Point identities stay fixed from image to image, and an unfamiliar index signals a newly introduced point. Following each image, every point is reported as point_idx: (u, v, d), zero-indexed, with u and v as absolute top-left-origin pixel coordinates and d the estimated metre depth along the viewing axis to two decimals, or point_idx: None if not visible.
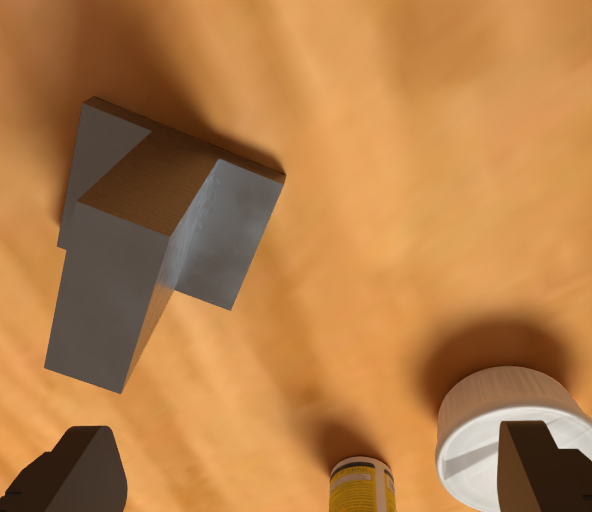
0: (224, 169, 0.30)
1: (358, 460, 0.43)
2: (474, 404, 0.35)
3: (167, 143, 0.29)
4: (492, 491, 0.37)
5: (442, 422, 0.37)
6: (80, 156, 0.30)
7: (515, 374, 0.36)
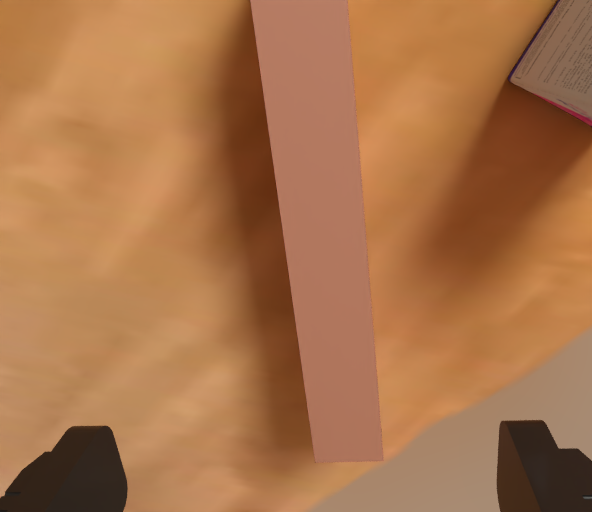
0: None
1: None
2: None
3: None
4: None
5: None
6: None
7: None
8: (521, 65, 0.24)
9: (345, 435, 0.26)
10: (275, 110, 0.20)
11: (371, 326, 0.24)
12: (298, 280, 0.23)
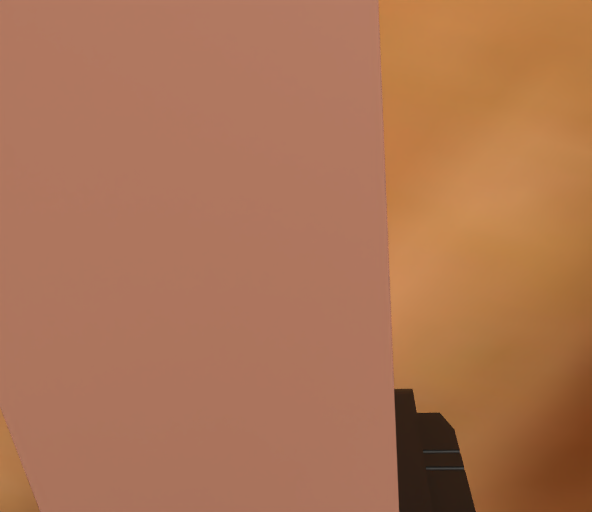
0: None
1: None
2: None
3: None
4: None
5: None
6: None
7: None
8: None
9: None
10: (15, 339, 0.04)
11: None
12: None
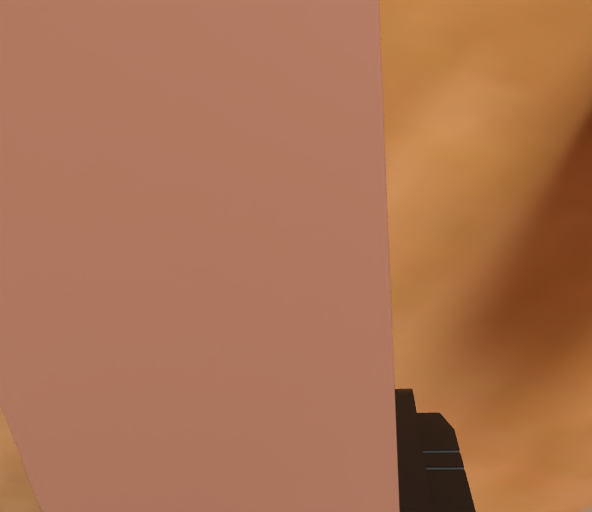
0: None
1: None
2: None
3: None
4: None
5: None
6: None
7: None
8: None
9: None
10: (17, 340, 0.04)
11: None
12: None
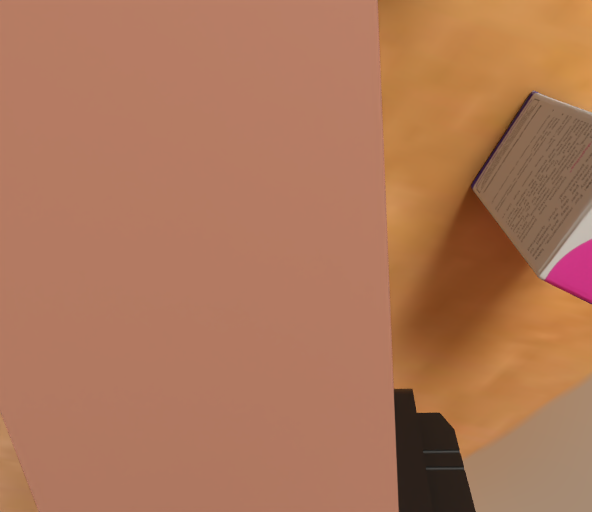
0: None
1: None
2: None
3: None
4: None
5: None
6: None
7: None
8: (481, 178, 0.27)
9: None
10: (15, 343, 0.04)
11: None
12: None
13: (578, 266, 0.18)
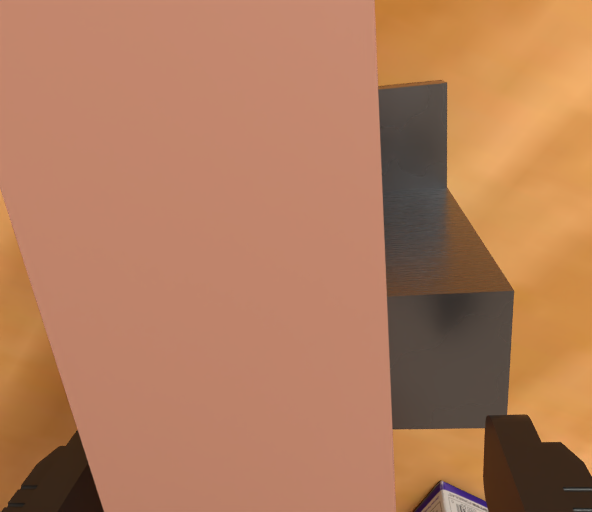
0: None
1: None
2: None
3: None
4: None
5: None
6: None
7: None
8: None
9: None
10: (70, 295, 0.05)
11: None
12: None
13: None
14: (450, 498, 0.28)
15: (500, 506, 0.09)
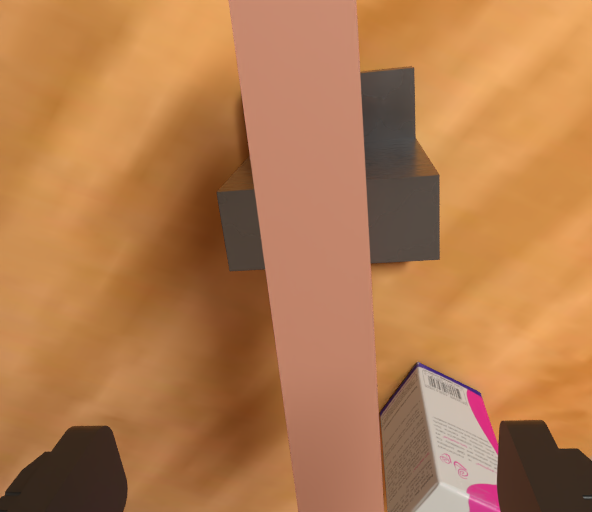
0: None
1: None
2: None
3: None
4: None
5: None
6: None
7: None
8: (384, 414, 0.40)
9: None
10: (258, 125, 0.16)
11: (375, 394, 0.19)
12: (286, 337, 0.18)
13: None
14: (423, 372, 0.38)
15: None
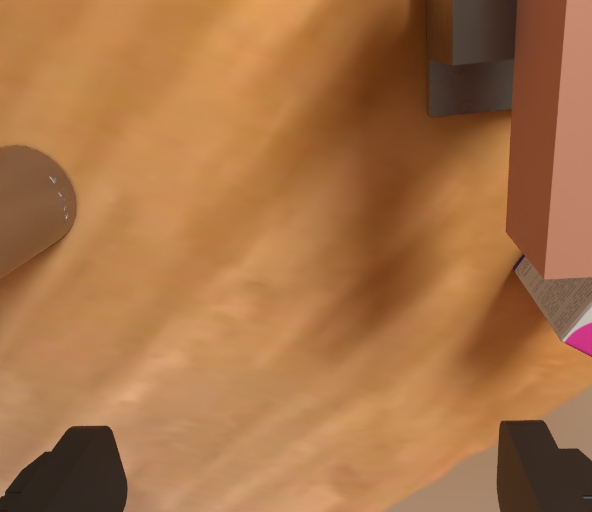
0: None
1: None
2: None
3: (430, 42, 0.36)
4: None
5: None
6: (473, 106, 0.38)
7: None
8: (521, 266, 0.43)
9: (584, 245, 0.25)
10: None
11: None
12: (572, 54, 0.22)
13: (582, 336, 0.34)
14: None
15: None
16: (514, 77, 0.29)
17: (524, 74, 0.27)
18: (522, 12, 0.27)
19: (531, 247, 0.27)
